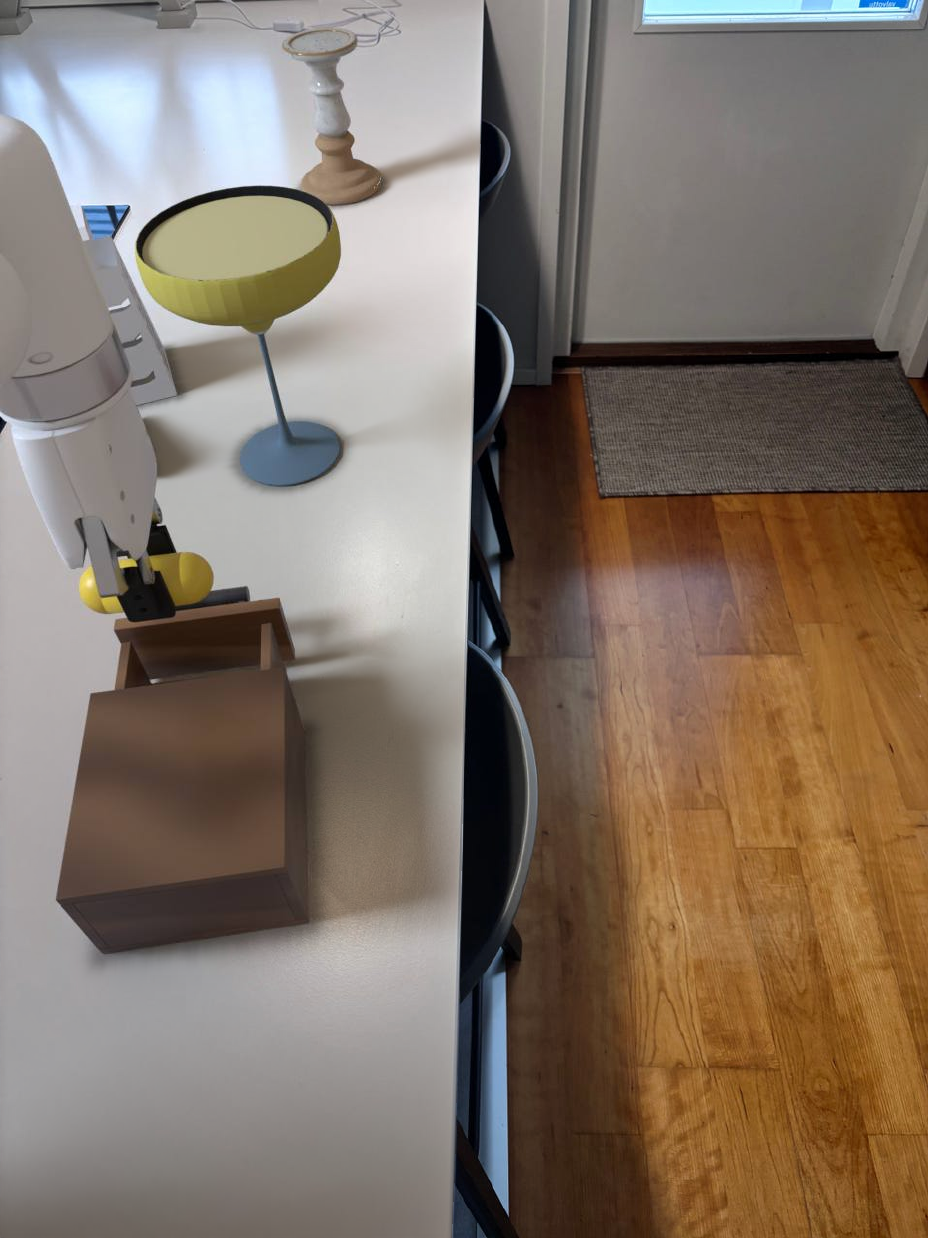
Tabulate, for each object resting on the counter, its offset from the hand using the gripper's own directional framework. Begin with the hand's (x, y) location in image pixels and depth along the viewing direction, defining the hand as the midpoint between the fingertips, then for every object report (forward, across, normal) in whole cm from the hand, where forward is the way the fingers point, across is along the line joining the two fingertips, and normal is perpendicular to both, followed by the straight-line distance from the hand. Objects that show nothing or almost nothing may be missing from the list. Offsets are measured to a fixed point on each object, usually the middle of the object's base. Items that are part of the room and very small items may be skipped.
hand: (155, 591), depth 66 cm
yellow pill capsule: (0, -1, 0) cm, 1 cm away
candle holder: (+18, -99, +14) cm, 102 cm away
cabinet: (+17, +10, 0) cm, 20 cm away
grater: (+17, -53, -14) cm, 58 cm away
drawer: (+16, -1, 0) cm, 16 cm away
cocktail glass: (+17, -36, +6) cm, 40 cm away
